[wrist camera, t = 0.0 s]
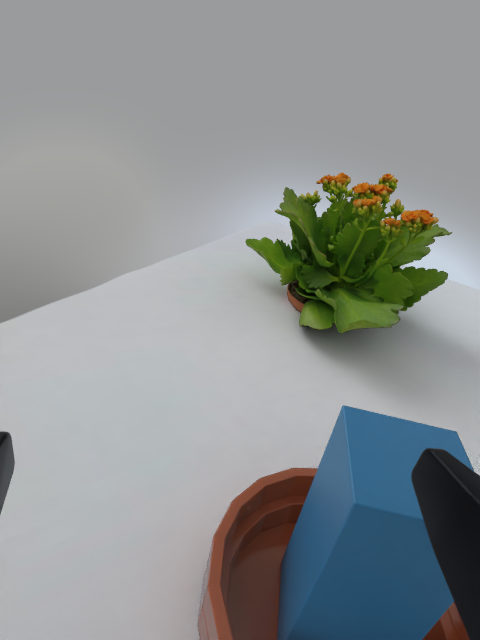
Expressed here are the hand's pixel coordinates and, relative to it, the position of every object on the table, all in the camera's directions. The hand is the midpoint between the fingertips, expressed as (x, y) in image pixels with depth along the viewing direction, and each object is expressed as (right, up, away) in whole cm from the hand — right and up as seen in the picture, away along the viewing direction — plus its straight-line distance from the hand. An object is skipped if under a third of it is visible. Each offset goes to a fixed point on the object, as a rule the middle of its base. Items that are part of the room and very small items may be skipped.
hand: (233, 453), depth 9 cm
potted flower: (+11, +5, +47) cm, 49 cm away
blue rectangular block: (+5, -13, +12) cm, 18 cm away
